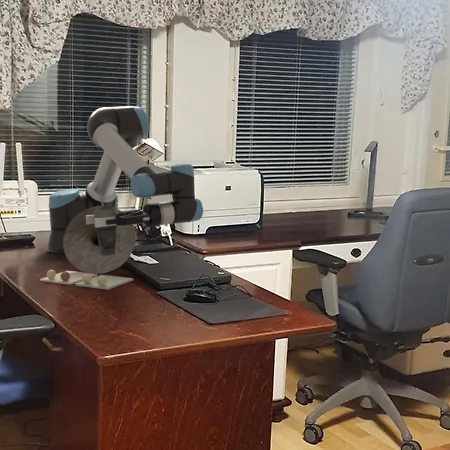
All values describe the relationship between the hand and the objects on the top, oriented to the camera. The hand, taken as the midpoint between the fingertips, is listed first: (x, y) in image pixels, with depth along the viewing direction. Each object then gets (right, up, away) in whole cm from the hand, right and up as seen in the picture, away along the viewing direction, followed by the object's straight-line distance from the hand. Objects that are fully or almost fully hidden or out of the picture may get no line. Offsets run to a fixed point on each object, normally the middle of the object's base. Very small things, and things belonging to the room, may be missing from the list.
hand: (90, 221), depth 231 cm
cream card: (-9, -19, +12) cm, 24 cm away
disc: (0, -16, +27) cm, 32 cm away
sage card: (+4, -19, +4) cm, 20 cm away
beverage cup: (+5, -10, +4) cm, 12 cm away
